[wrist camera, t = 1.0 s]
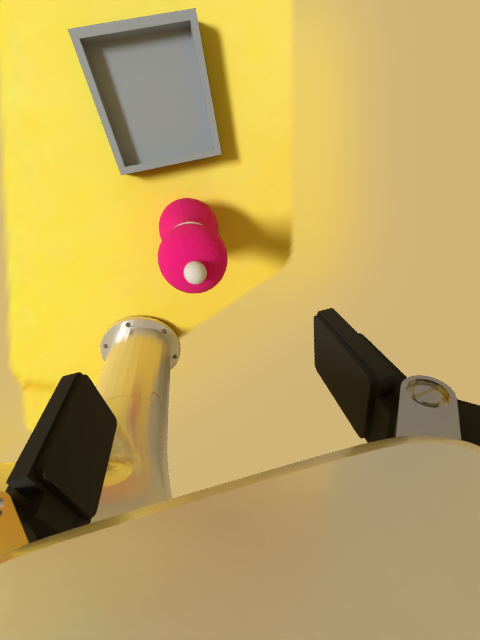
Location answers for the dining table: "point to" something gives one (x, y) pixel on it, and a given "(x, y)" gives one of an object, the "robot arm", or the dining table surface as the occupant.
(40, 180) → the dining table surface
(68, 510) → the robot arm
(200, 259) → the pepper mill
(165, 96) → the tray
